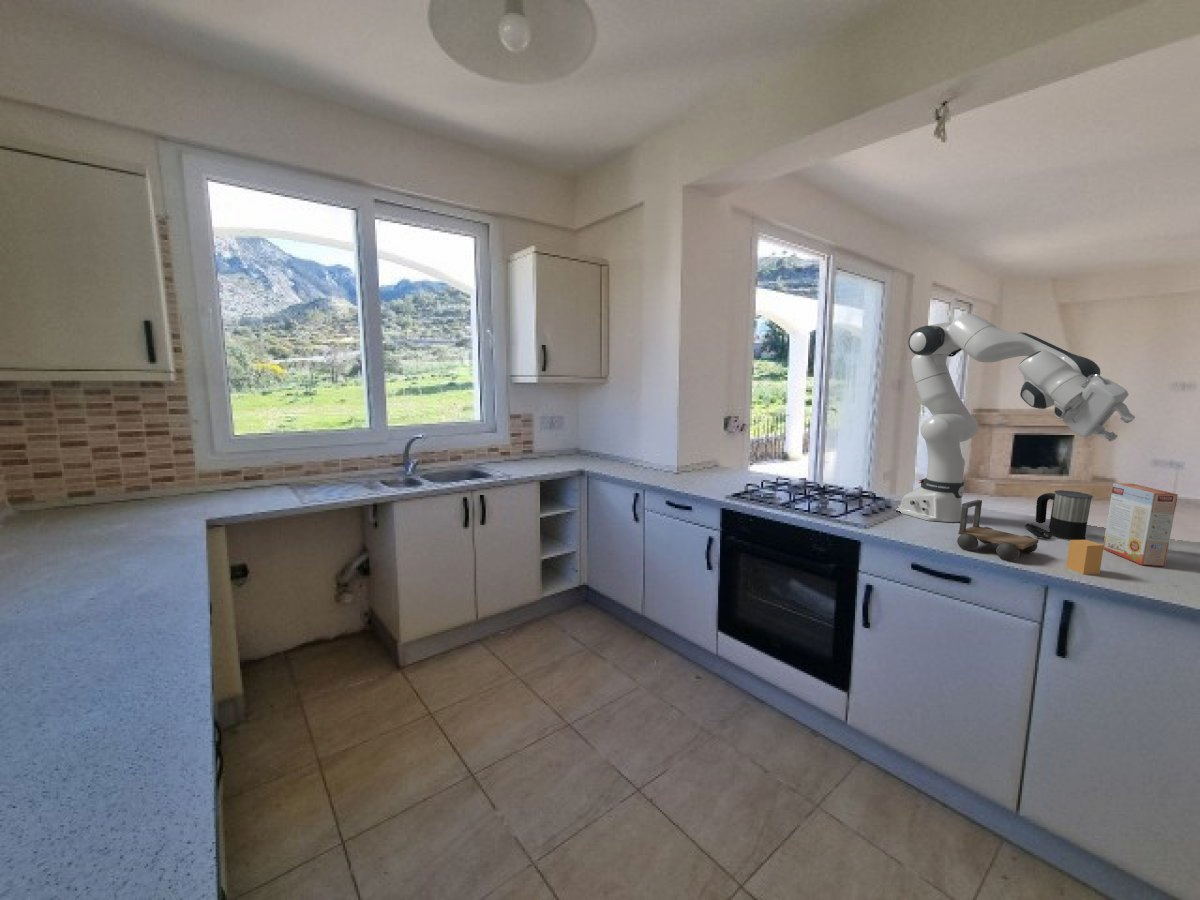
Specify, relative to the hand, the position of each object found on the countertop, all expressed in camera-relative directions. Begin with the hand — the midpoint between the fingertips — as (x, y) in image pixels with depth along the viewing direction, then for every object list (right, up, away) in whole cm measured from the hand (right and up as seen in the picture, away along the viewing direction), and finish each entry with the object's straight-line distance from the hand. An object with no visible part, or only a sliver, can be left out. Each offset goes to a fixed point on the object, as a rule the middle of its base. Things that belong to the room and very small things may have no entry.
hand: (1122, 430), depth 129 cm
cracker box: (+19, -37, +16) cm, 44 cm away
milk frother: (+14, -34, +34) cm, 50 cm away
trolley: (-17, -36, +21) cm, 44 cm away
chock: (-5, -38, +6) cm, 39 cm away
